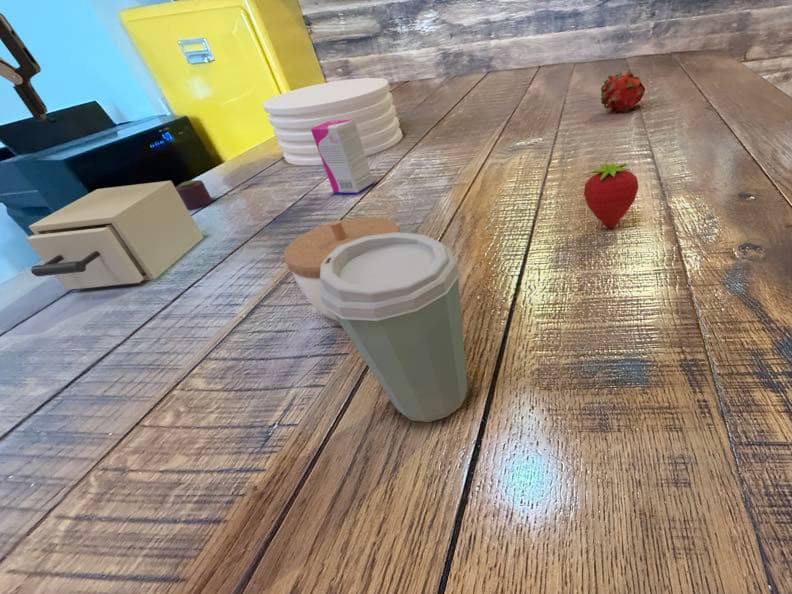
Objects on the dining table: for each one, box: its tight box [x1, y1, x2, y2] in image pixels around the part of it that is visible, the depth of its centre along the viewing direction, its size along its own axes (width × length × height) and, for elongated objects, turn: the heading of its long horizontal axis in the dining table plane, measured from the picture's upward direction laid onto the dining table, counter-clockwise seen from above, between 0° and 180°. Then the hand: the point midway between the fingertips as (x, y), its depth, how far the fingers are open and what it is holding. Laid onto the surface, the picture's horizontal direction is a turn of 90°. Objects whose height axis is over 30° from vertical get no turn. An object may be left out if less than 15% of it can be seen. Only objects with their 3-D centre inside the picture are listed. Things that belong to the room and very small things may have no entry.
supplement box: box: [311, 120, 375, 196], centre depth 93 cm, size 6×6×12 cm
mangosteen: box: [174, 179, 214, 211], centre depth 99 cm, size 5×5×4 cm
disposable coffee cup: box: [320, 232, 469, 423], centre depth 43 cm, size 11×11×15 cm
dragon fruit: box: [600, 71, 646, 114], centre depth 117 cm, size 8×8×12 cm
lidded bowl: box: [283, 216, 401, 322], centre depth 58 cm, size 13×13×11 cm
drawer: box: [25, 223, 144, 291], centre depth 75 cm, size 18×11×8 cm, turn 0°
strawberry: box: [583, 154, 639, 229], centre depth 69 cm, size 6×8×10 cm
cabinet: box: [28, 180, 204, 282], centre depth 78 cm, size 15×13×10 cm
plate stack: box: [262, 77, 403, 166], centre depth 119 cm, size 28×28×12 cm
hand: (1, 127), depth 62 cm, fingers open, 8 cm apart
